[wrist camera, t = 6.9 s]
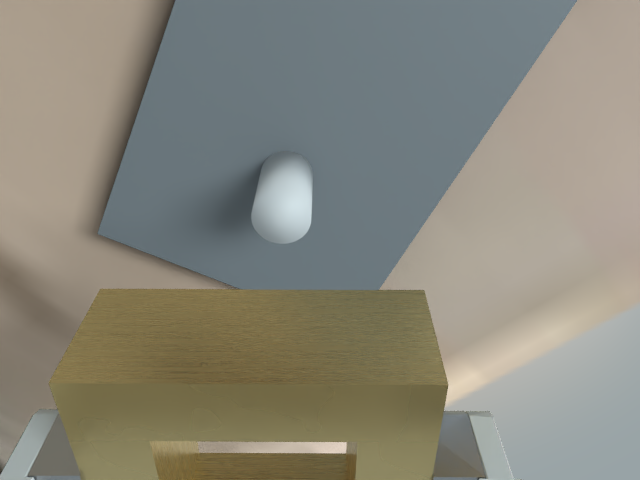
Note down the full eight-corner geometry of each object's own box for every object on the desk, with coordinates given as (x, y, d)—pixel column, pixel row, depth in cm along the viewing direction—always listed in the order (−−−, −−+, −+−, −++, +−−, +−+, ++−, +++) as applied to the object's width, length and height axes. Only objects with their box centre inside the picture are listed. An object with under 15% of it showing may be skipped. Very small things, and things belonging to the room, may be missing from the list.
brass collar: (150, 487, 15) (121, 590, 12) (100, 288, 11) (49, 382, 9) (399, 489, 15) (412, 591, 12) (424, 290, 11) (448, 385, 9)
